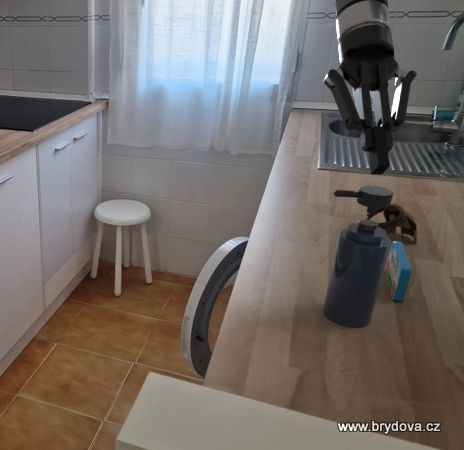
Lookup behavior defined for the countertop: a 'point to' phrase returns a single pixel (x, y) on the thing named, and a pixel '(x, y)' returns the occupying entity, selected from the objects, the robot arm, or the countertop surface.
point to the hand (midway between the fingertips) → (380, 170)
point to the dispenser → (356, 274)
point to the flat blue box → (398, 271)
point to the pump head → (369, 197)
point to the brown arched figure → (397, 221)
